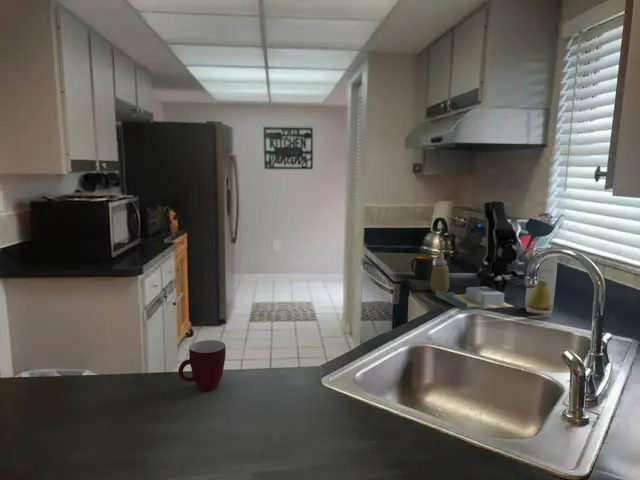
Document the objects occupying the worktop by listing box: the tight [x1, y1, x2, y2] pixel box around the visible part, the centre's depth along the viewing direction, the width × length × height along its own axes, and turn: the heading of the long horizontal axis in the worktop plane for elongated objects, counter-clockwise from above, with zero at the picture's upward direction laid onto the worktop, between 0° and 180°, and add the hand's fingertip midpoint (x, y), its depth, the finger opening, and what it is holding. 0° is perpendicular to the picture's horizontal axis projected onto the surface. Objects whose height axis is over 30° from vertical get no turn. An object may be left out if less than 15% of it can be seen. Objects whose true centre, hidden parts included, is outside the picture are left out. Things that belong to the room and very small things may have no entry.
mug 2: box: [411, 255, 434, 281], centre depth 229 cm, size 8×12×10 cm
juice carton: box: [524, 251, 558, 318], centre depth 171 cm, size 9×8×24 cm
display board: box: [435, 290, 514, 311], centre depth 184 cm, size 22×20×4 cm
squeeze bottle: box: [429, 251, 450, 293], centre depth 197 cm, size 8×8×18 cm
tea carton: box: [465, 286, 506, 305], centre depth 185 cm, size 9×12×4 cm
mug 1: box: [177, 339, 227, 392], centre depth 106 cm, size 10×8×10 cm
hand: (498, 295), depth 187 cm, fingers closed
